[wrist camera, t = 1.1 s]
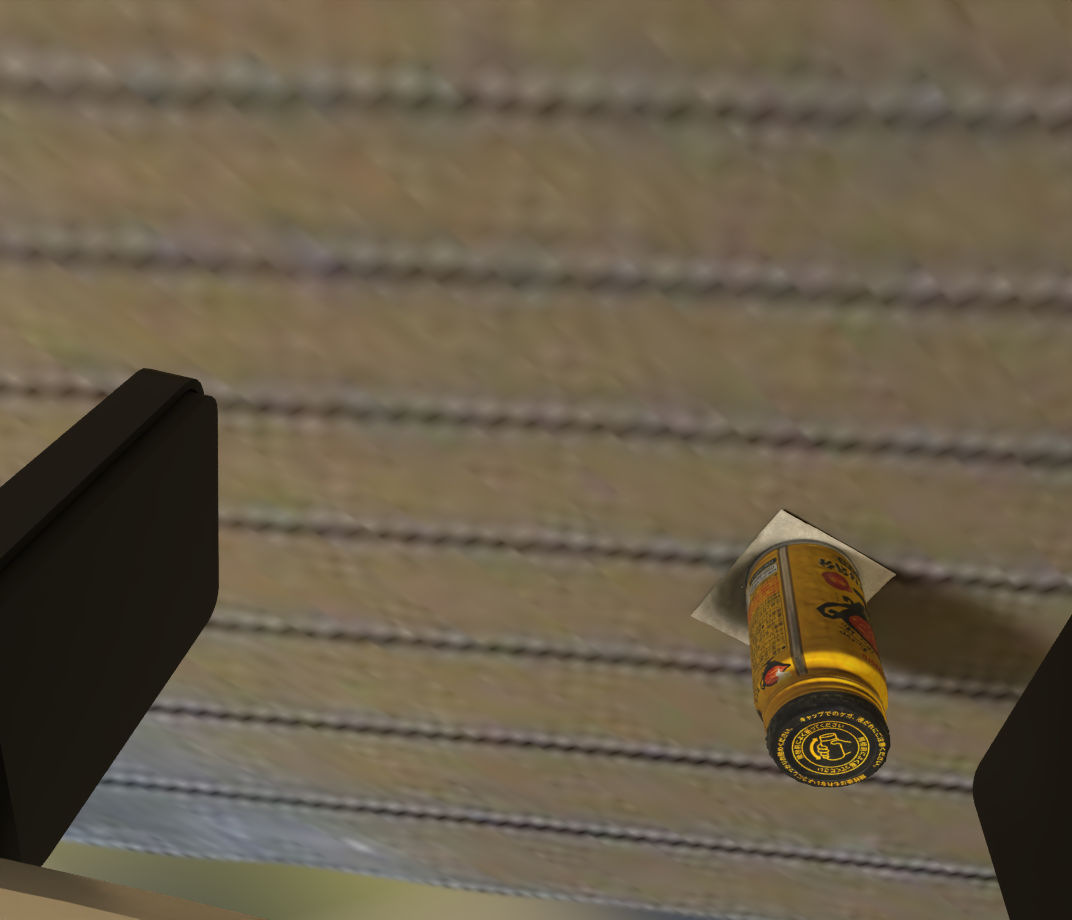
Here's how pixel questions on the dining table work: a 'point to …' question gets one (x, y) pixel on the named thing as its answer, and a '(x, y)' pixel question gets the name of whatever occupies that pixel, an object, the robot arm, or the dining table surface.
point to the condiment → (809, 650)
